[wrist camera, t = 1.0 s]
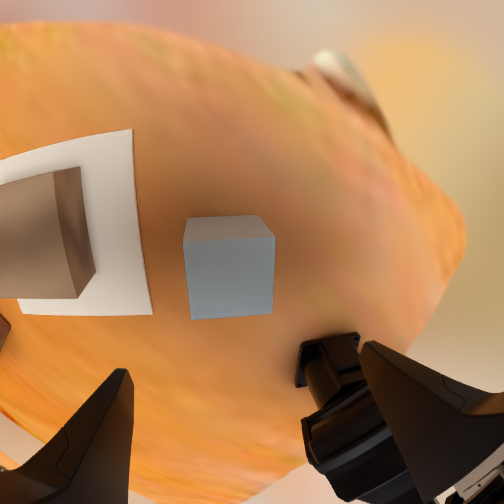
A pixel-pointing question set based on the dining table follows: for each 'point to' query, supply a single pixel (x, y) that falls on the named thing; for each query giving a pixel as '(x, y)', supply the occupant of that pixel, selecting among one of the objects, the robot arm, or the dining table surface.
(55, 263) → the walnut base
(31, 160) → the felt mat
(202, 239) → the gray cube
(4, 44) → the dining table surface
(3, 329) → the wooden block
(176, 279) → the dining table surface
